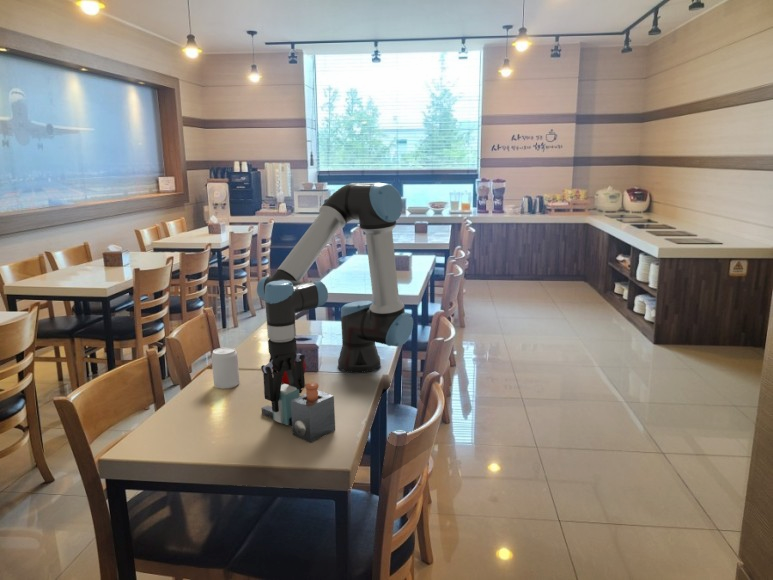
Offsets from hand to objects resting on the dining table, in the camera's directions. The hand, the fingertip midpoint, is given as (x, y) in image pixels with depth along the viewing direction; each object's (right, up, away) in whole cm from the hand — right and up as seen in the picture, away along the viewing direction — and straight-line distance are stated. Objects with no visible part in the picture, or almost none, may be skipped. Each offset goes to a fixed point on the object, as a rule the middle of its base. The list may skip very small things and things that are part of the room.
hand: (286, 417), depth 157 cm
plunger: (+8, +5, -8) cm, 13 cm away
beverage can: (-25, +4, +28) cm, 37 cm away
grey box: (+9, -3, -7) cm, 11 cm away
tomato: (-4, +5, +30) cm, 31 cm away
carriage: (0, -1, 0) cm, 1 cm away
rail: (-1, -1, +1) cm, 2 cm away
